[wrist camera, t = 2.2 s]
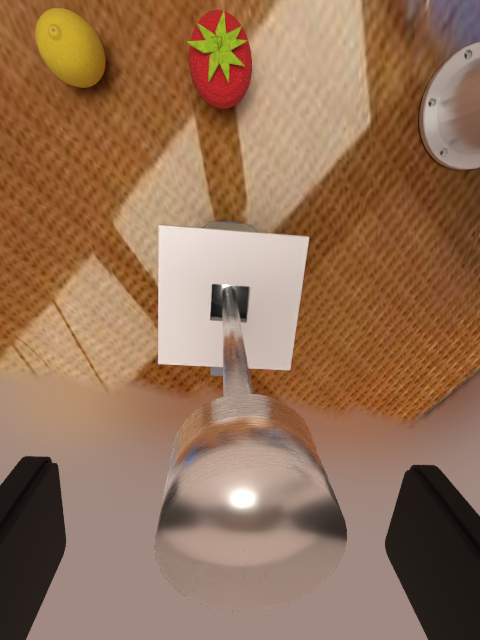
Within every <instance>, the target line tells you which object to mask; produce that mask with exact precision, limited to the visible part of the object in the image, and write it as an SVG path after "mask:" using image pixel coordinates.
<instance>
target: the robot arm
mask: <svg viewBox="0 0 480 640" xmlns="http://www.w3.org/2000/svg"><path fill="white" fill-rule="evenodd" d="M428 103H429V105H428ZM419 127H420V134H421V138H422V141H423V144H424V146H425V148H426V150H427V151H428V153H429V154H430V155H431V157H432V158H433V159H434V160H436V161H437V162H438V163H439V164H441V165H443V166H445V167H447V168H451V169H455V170H469V169H475V168H479V167H480V42H477V43H474V44H471V45H469V46H467V47H465V48H463V49H461V50H460V51H458V52H457V53H455V54H453V55H452V56H451V57H450V58H449V59H447V60H446V61H445V62H444V63H443V64H442V65H441V66H440V67H439V69H438V70H437V71H436V72H435V74H434V75H433V77H432V78H431V80H430V82H429V83H428V86H427V88H426V90H425V93H424V95H423V98H422V102H421V106H420V114H419ZM440 152H441V155H440ZM65 546H66V534H65V525H64V516H63V507H62V498H61V488H60V480H59V470H58V465H57V463H52V461H51V459H50V457H34V456H33V457H32V456H26V457H23V458H22V459H21V460H20V461H19V462H18V464H17V465H16V466H15V468H14V469H13V470H12V471H11V473H10V474H9V475H8V476H7V478H6V479H5V480H4V482H3V483H2V484H1V485H0V640H26V638H27V636H28V633H29V631H30V629H31V627H32V624H33V622H34V620H35V618H36V615H37V613H38V611H39V609H40V607H41V604H42V602H43V600H44V598H45V595H46V593H47V591H48V588H49V586H50V584H51V582H52V580H53V577H54V575H55V573H56V571H57V568H58V566H59V563H60V562H61V559H62V557H63V554H64V551H65ZM385 548H386V553H387V555H388V558H389V560H390V562H391V564H392V566H393V568H394V570H395V572H396V574H397V576H398V578H399V580H400V582H401V585H402V587H403V589H404V590H405V593H406V595H407V597H408V599H409V601H410V603H411V605H412V607H413V609H414V611H415V613H416V615H417V617H418V619H419V621H420V623H421V626H422V628H423V630H424V632H425V634H426V636H427V638H428V640H480V516H479V515H478V514H477V513H476V511H475V510H474V509H473V508H472V507H471V506H470V504H469V503H468V502H467V501H466V500H465V498H464V497H463V496H462V495H461V494H460V492H459V491H458V490H457V489H456V488H455V487H454V486H453V485H452V483H451V482H450V481H449V480H448V478H447V477H446V476H445V475H444V474H443V472H442V471H441V470H440V469H439V468H438V467H437V466H434V465H413V466H411V468H410V470H407V471H406V472H405V474H404V478H403V481H402V485H401V488H400V492H399V495H398V498H397V502H396V506H395V509H394V512H393V516H392V519H391V522H390V526H389V529H388V533H387V536H386V540H385Z"/></svg>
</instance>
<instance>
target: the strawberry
mask: <svg viewBox="0 0 480 640" xmlns="http://www.w3.org/2000/svg"><path fill="white" fill-rule="evenodd" d="M186 43H187V44H189V45H190V50H189V66H190V72H191V76H192V79H193V82H194V85H195V87H196V89H197V91H198V92H199V94H200V95H201V97H202V98H203V99H204V100H205V101H206V102H207V103H208V104H210V105H212V106H213V107H216V108H219V109H226V108H230V107H232V106H234V105H236V104H237V103H238V102H239V101H240V100H241V99H242V98H243V96H244V95H245V93H246V91H247V89H248V87H249V83H250V79H251V72H252V58H251V51H250V46H249V42H248V39H247V36H246V34H245V31H244V29H243V28H242V26H241V24H240V23H239V22H238V21H237V19H236V18H235V17H234V16H232V15H231V14H229V13H228V12H225V11H222V10H214V11H210V12H208V13H207V14H205V15H204V16H203V17H202V18H201V19H200V20H199V21H198V23H197V25H196V26H195V29H194V31H193V34H192V38H191V41H187V42H186Z"/></svg>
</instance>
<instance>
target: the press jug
mask: <svg viewBox="0 0 480 640" xmlns="http://www.w3.org/2000/svg"><path fill="white" fill-rule="evenodd" d="M308 242H309V237H307V236H299V235H286V234H274V233H261V232H258V231H257V230H256V229H254V228H253V227H251V226H250V225H248V224H241V223H238V222H233V221H219V222H213V221H211V222H210V223H209V224H208V225H206V226H205V227H203V228H199V227H187V226H174V225H162V224H161V225H159V285H158V364H171V365H191V366H211V375H213V376H223V317H210V314H211V296H212V284H219V285H234V286H248V287H249V293H248V303H247V314H246V319H242V318H240V321H241V327H242V333H243V339H244V345H245V351H246V357H247V363H248V368H252V369H273V370H290V368H291V361H292V354H293V347H294V340H295V333H296V326H297V319H298V312H299V305H300V298H301V291H302V284H303V277H304V270H305V263H306V256H307V249H308Z"/></svg>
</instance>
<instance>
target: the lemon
mask: <svg viewBox="0 0 480 640" xmlns="http://www.w3.org/2000/svg"><path fill="white" fill-rule="evenodd" d="M35 36H36V44H37V47H38V50H39V53H40V55H41V57H42V58H43V60H44V62H45V64H46V65H47V66H48V68H49V69H50V70H51V71H52V72H53V73H54V74H55V75H56V76H57V77H58V78H59V79H61V80H62V81H64V82H65V83H67V84H69V85H72V86H74V87H80V88H86V87H90V86H93V85H95V84H96V83H97V82H98V81H99V80H100V79H101V77H102V76H103V73H104V70H105V61H106V59H105V53H104V49H103V46H102V43H101V41H100V39H99V37H98V35H97V34H96V32H95V31H94V29H93V28H92V27H91V26H90V25H89V24H88V23H87V22H86V21H85V20H84V19H83V18H82V17H80V16H79V15H77V14H76V13H74V12H72V11H70V10H67V9H63V8H53V9H50V10H47V11H46V12H45V13H43V14H42V15H41V17H40V18H39V20H38V22H37V25H36V31H35Z"/></svg>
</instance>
